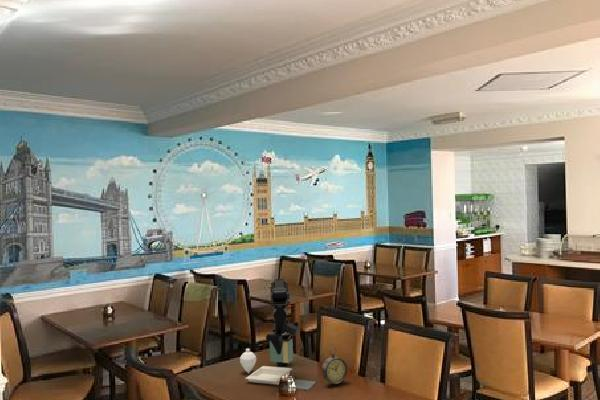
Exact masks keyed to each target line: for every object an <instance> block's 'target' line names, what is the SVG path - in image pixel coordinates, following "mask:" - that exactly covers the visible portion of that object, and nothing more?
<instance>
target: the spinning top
mask: <svg viewBox="0 0 600 400" xmlns="http://www.w3.org/2000/svg"><path fill="white" fill-rule="evenodd" d="M239 362H240V365H241V366H242V367H243V369H244V370H245V371H246V372H247V374H250V373H251V371H252V370H253V368H254V367H255V365H256V362H257V356H256V354H255V353H254V352H252V351H251V349H250V348H245V352H243V353H242V354H241V356H240V357H239Z"/></svg>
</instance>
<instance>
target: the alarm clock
mask: <svg viewBox="0 0 600 400" xmlns="http://www.w3.org/2000/svg"><path fill="white" fill-rule="evenodd" d="M332 349H334V350H335V352H334V353H331V351H332ZM336 353H337V349H336V347H335V346H333V347H331V348H330V349H329V354H330V355H331V356H329V357H327V358H326V359H325V360H324V362H323V364H322V367H321V375H322V377H323V379H324V380H325V381H326V382H328V383H327V386H326V388H329V386H330V384H333V385H338V384H341V383H343V384H345V383H346V382H345V381H344V380H345V379H346V377H347V375H348V366H347V363H346V361H345V360H344V359H342V358H340V357H338V356H335V354H336Z"/></svg>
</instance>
